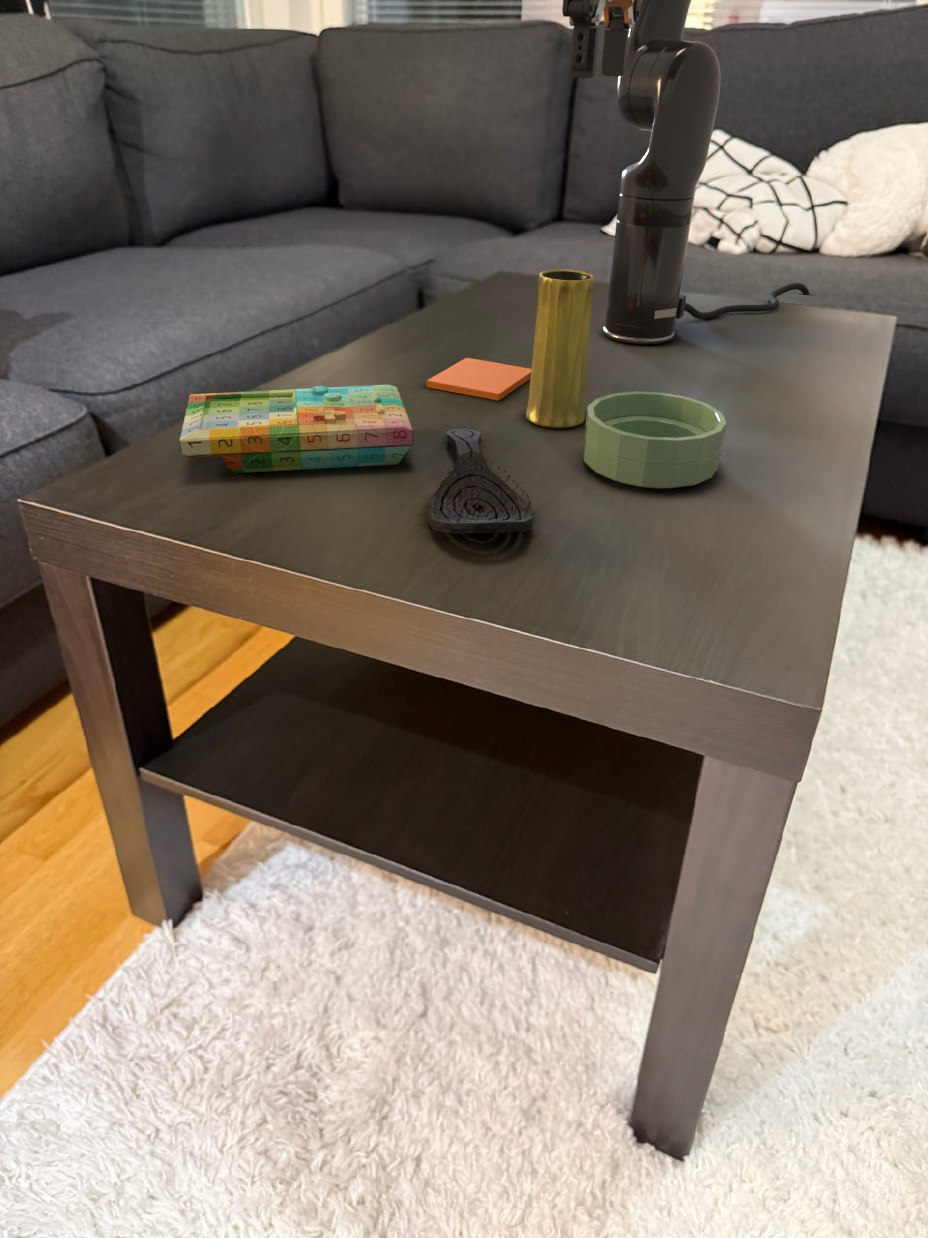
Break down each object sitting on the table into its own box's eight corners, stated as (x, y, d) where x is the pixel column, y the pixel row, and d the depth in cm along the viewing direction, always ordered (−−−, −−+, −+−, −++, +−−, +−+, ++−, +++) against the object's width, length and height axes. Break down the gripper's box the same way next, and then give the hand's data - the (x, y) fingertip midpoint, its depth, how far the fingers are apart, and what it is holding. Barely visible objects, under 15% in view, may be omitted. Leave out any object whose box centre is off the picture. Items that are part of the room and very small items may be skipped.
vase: (581, 431, 88) (596, 283, 80) (521, 426, 89) (530, 279, 81) (587, 411, 93) (601, 270, 85) (530, 406, 94) (539, 265, 86)
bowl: (607, 432, 88) (612, 383, 85) (728, 456, 83) (738, 405, 80) (563, 476, 78) (568, 423, 76) (696, 505, 74) (707, 450, 71)
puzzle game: (413, 420, 76) (177, 430, 73) (413, 469, 79) (185, 482, 76) (397, 377, 86) (187, 385, 83) (398, 423, 88) (195, 432, 85)
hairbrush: (502, 408, 85) (545, 510, 63) (501, 444, 87) (542, 556, 65) (417, 409, 84) (432, 513, 63) (418, 445, 86) (432, 559, 64)
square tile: (466, 363, 105) (466, 357, 105) (534, 375, 102) (535, 369, 102) (426, 387, 98) (426, 380, 98) (498, 401, 95) (499, 393, 94)
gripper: (603, -136, 79) (585, 74, 88) (544, -166, 68) (530, 76, 77) (684, -141, 76) (658, 77, 85) (635, -173, 66) (611, 79, 75)
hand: (597, 76), depth 81 cm, fingers open, 8 cm apart
